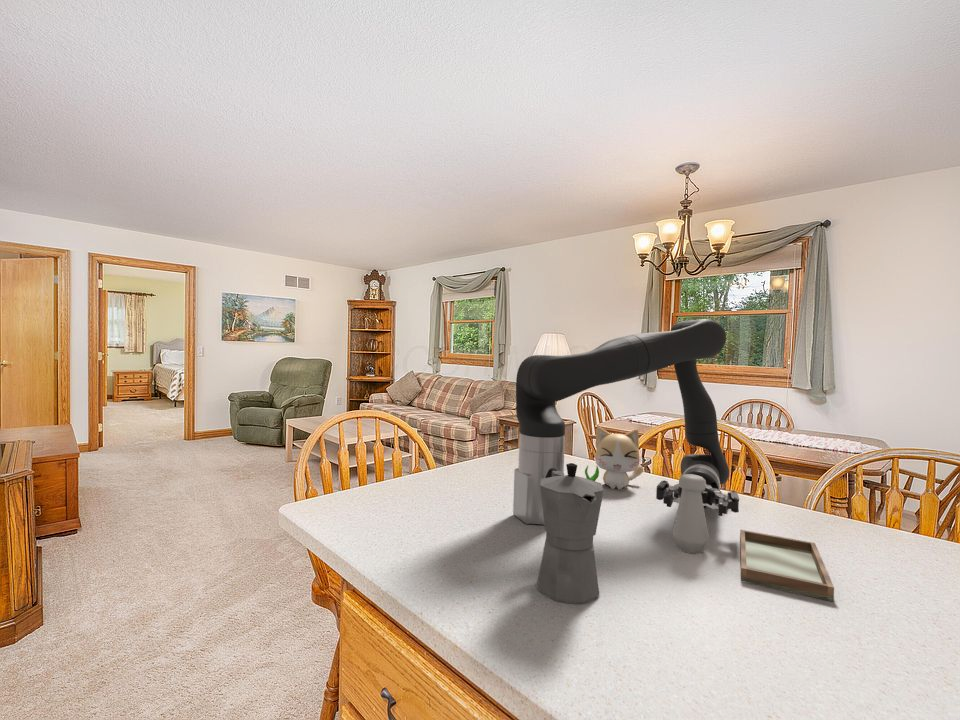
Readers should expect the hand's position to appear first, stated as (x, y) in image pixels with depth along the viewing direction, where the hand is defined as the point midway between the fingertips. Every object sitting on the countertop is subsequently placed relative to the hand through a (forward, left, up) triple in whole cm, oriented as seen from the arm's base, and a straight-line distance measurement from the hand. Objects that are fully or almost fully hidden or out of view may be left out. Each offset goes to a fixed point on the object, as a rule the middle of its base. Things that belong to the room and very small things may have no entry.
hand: (694, 505), depth 85 cm
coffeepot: (-30, -5, -7) cm, 31 cm away
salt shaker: (-2, -1, -7) cm, 8 cm away
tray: (+7, -11, -7) cm, 15 cm away
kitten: (+10, +36, -7) cm, 38 cm away
